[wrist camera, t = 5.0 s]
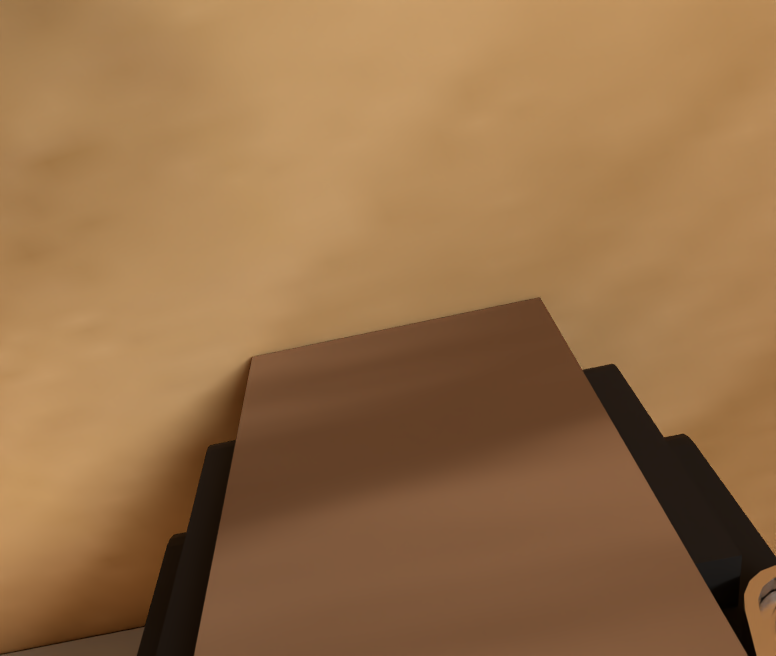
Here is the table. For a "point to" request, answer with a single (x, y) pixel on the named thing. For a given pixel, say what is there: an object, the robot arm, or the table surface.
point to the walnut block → (445, 507)
